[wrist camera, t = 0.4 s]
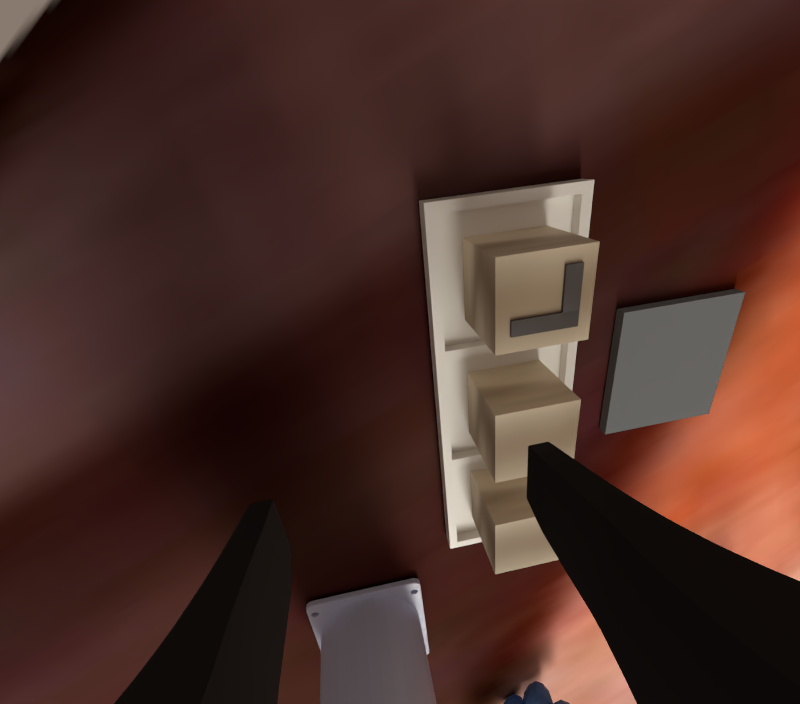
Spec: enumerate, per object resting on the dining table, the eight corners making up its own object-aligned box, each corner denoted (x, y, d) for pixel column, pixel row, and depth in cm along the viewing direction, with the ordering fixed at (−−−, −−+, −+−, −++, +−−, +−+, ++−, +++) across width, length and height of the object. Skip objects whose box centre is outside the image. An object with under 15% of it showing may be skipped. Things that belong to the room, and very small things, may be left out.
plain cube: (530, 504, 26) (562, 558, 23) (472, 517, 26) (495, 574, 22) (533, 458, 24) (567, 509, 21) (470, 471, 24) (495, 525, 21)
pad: (700, 408, 25) (708, 413, 25) (599, 428, 25) (605, 434, 24) (734, 288, 22) (745, 292, 21) (616, 308, 21) (624, 312, 21)
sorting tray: (550, 513, 28) (558, 524, 27) (446, 535, 27) (450, 548, 26) (581, 178, 18) (594, 179, 17) (418, 200, 17) (423, 203, 16)
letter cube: (544, 306, 20) (592, 340, 16) (465, 320, 20) (496, 356, 16) (549, 224, 18) (604, 241, 14) (462, 237, 18) (496, 258, 14)
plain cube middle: (535, 419, 23) (572, 467, 20) (469, 432, 23) (495, 482, 19) (538, 359, 21) (580, 399, 18) (467, 372, 21) (495, 416, 17)
